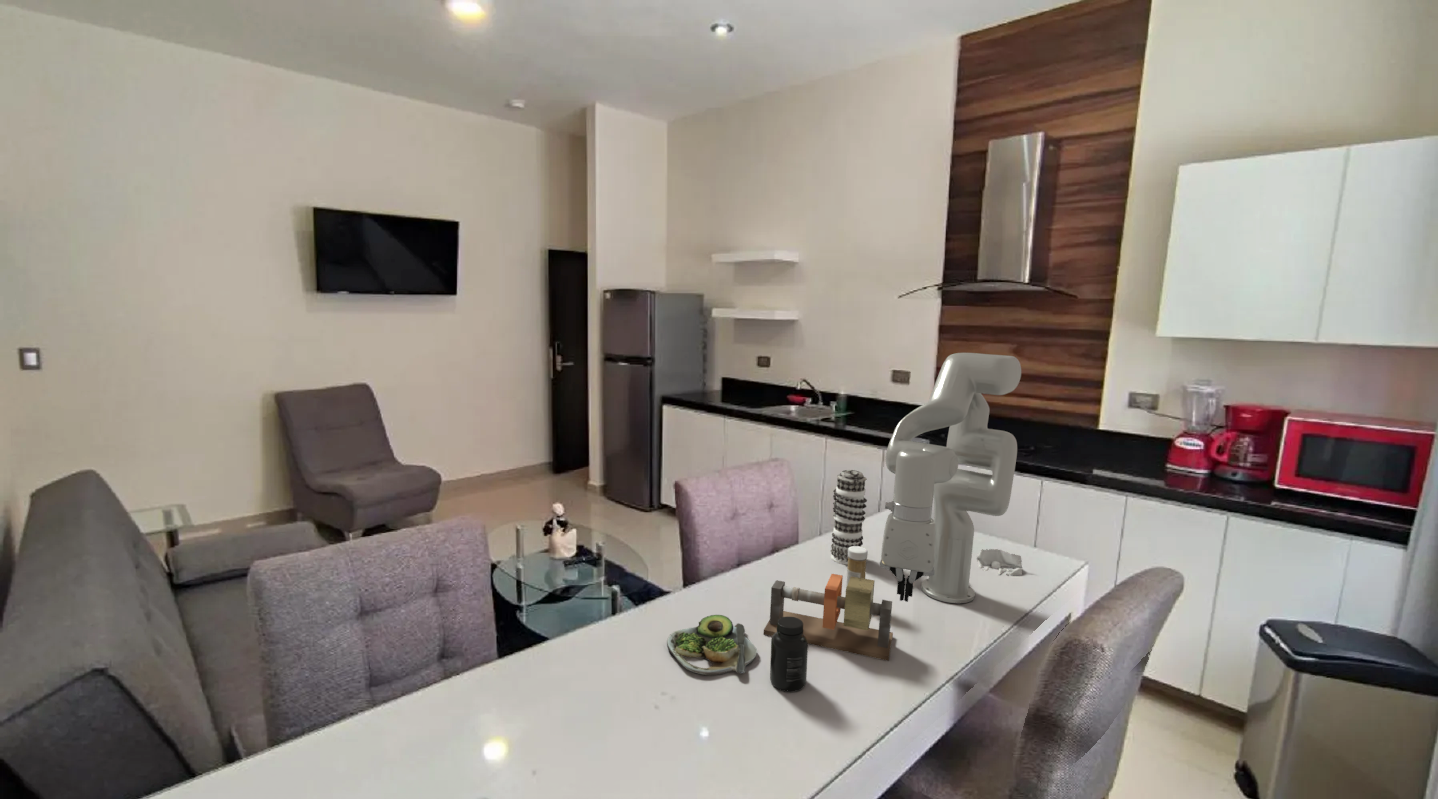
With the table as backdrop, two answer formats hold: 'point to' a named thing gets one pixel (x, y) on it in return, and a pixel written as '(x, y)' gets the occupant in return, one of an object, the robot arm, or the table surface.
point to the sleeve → (858, 603)
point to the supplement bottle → (789, 655)
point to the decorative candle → (848, 514)
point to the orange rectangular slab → (832, 601)
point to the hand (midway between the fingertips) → (904, 598)
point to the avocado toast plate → (713, 646)
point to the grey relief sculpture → (1000, 561)
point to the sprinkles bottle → (856, 562)
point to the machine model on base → (841, 636)
